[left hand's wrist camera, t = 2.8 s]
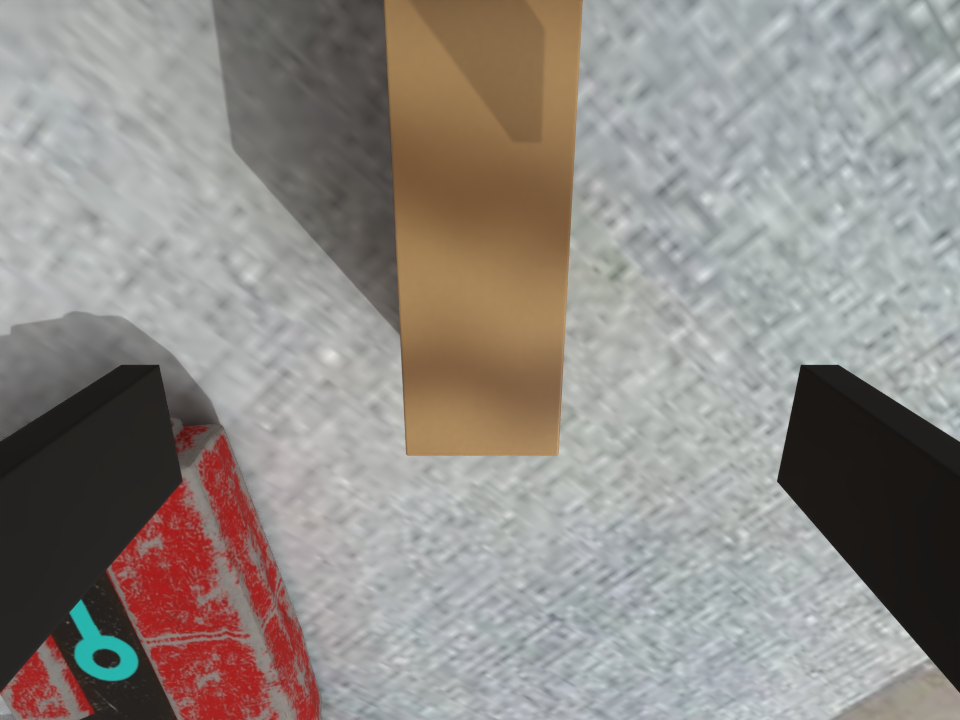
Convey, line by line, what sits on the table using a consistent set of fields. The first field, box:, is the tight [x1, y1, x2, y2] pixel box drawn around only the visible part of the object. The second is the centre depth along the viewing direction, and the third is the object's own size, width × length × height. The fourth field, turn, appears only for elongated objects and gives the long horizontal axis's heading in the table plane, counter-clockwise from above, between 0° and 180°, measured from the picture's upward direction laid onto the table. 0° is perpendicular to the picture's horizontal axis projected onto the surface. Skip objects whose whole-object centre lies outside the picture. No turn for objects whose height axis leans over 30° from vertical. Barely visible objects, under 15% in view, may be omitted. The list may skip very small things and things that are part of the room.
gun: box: [0, 418, 322, 720], centre depth 31 cm, size 4×31×19 cm
